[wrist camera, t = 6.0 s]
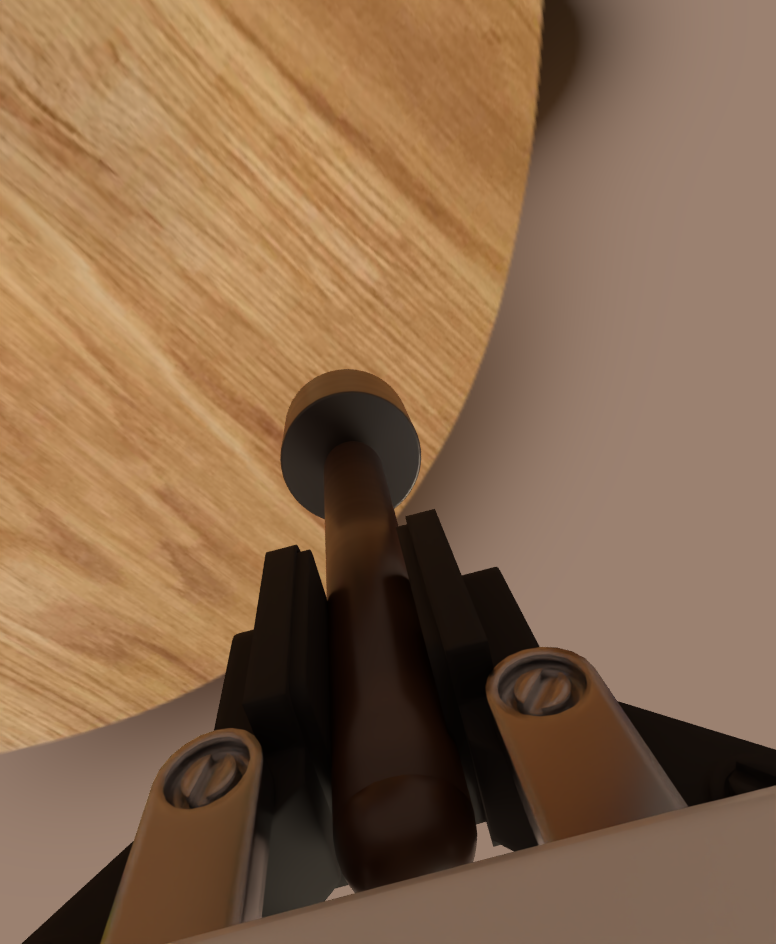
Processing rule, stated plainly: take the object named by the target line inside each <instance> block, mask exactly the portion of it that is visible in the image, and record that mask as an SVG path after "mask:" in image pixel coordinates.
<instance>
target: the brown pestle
mask: <svg viewBox="0 0 776 944" xmlns="http://www.w3.org/2000/svg"><path fill="white" fill-rule="evenodd" d="M280 460H281V469H282V474H283V477H284V480H285V483H286V485H287V487H288V489H289V490H290V492H291V494H292V495H293V496H294V498H295V499H296V500H297V501H298V502H299V503H300V504H301V505H302V506H303V507H304V508H306V509H307V510H308V511H310V512H311V513H313V514H315V515H316V516H319V517H321V518H323V519H325V546H326V586H327V605H328V643H329V681H330V718H331V756H332V768H331V783H332V822H333V842H334V849H335V854H336V858H337V862H338V864H339V867H340V870H341V872H342V874H343V876H344V878H345V880H346V881H347V883H348V884H349V886H350V887H351V888H352V890H353V891H354V892H355V893H358V892H362V891H366V890H370V889H373V888H377V887H381V886H385V885H389V884H393V883H396V882H400V881H404V880H408V879H412V878H415V877H419V876H423V875H427V874H431V873H435V872H438V871H442V870H446V869H450V868H454V867H457V866H461V865H465V864H469V863H473V860H474V857H475V851H476V843H477V829H476V821H475V814H474V809H473V805H472V802H471V798H470V794H469V790H468V787H467V783H466V779H465V775H464V772H463V768H462V764H461V760H460V756H459V753H458V750H457V747H456V744H455V743H454V741H453V739H452V738H451V737H450V735H449V734H448V730H447V726H446V722H445V718H444V715H443V711H442V707H441V703H440V699H439V695H438V691H437V688H436V684H435V680H434V676H433V672H432V668H431V664H430V660H429V657H428V653H427V649H426V645H425V641H424V637H423V633H422V629H421V625H420V621H419V617H418V613H417V609H416V605H415V601H414V597H413V593H412V589H411V585H410V581H409V577H408V573H407V570H406V566H405V562H404V558H403V554H402V550H401V546H400V542H399V538H398V534H397V530H396V527H398V523H397V519H396V516H395V512H394V508H396V507H397V506H398V505H399V504H400V503H401V502H402V501H403V500H404V499H405V498H406V497H407V495H408V494H409V493H410V491H411V490H412V488H413V486H414V484H415V482H416V480H417V477H418V474H419V470H420V464H421V448H420V442H419V439H418V435H417V433H416V431H415V428H414V426H413V424H412V422H411V420H410V418H409V416H408V414H407V411H406V409H405V407H404V405H403V403H402V401H401V399H400V398H399V396H398V394H397V393H396V392H395V391H394V390H393V388H392V387H391V386H389V385H388V384H387V383H386V382H385V381H383V380H382V379H380V378H379V377H377V376H375V375H373V374H370V373H367V372H364V371H359V370H351V369H343V370H335V371H330V372H327V373H324V374H322V375H320V376H318V377H316V378H314V379H313V380H311V381H310V382H308V383H307V384H306V385H305V386H304V387H303V388H302V389H301V390H300V391H299V392H298V393H297V395H296V396H295V398H294V399H293V401H292V403H291V405H290V407H289V410H288V413H287V416H286V422H285V428H284V434H283V441H282V447H281V459H280Z"/></svg>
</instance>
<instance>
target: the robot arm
mask: <svg viewBox="0 0 776 944" xmlns="http://www.w3.org/2000/svg"><path fill="white" fill-rule="evenodd" d="M406 522H407V524H406V525H402V526H399V527H396V530H397V534H398V538H399V542H400V546H401V550H402V554H403V558H404V562H405V566H406V570H407V573H408V577H409V581H410V585H411V589H412V593H413V597H414V601H415V605H416V609H417V613H418V617H419V621H420V625H421V629H422V633H423V637H424V641H425V645H426V649H427V653H428V657H429V660H430V664H431V668H432V672H433V676H434V680H435V684H436V688H437V691H438V695H439V699H440V703H441V707H442V711H443V715H444V718H445V722H446V726H447V730H448V734H449V735H450V737H451V738H452V739H453V741H454V743H455V744H456V747H457V750H458V753H459V756H460V760H461V764H462V768H463V772H464V775H465V779H466V783H467V787H468V790H469V794H470V798H471V802H472V805H473V809H474V814H475V821H476V824H479V823H483V822H487V826H488V829H489V833H490V836H491V840H492V843H493V846H498V845H503V846H504V847H507V848H509V849H511V850H512V851H514V852H511V853H507V854H504V855H500V856H496V857H492V858H488V859H484V860H480V861H477V862H473V863H469V864H465V865H461V866H457V867H454V868H450V869H446V870H442V871H438V872H435V873H431V874H427V875H423V876H419V877H415V878H412V879H408V880H404V881H400V882H396V883H393V884H389V885H385V886H381V887H377V888H373V889H370V890H366V891H362V892H358V893H355V894H351V895H347V896H343V897H339V898H336V899H332V900H328V901H325V900H326V899H327V897H328V896H329V895H330V894H331V893H332V891H333V890H334V889H335V888H338V887H342V886H346V885H349V884H348V883H347V881H346V880H345V878H344V876H343V874H342V872H341V870H340V867H339V864H338V862H337V858H336V854H335V849H334V842H333V822H332V783H331V768H332V756H331V718H330V681H329V643H328V605H327V598H326V595H325V592H324V589H323V585H322V582H321V579H320V576H319V573H318V570H317V566H316V563H315V560H314V557H313V554H312V552H311V550H306V551H302V552H300V549H299V547H298V546H297V545H293V546H289V547H286V548H282V549H278V550H274V551H270V552H266V555H265V561H264V568H263V574H262V581H261V587H260V593H259V600H258V606H257V613H256V619H255V625H254V630H250V631H246V632H242V633H239V634H236V635H235V636H234V638H233V640H232V644H231V649H230V654H229V659H228V664H227V669H226V674H225V679H224V684H223V689H222V694H221V699H220V704H219V709H218V713H217V719H216V723H215V729H214V731H213V732H209V733H206V734H203V735H201V736H199V737H197V738H195V739H194V740H192V741H190V742H188V743H187V744H185V745H184V746H182V747H181V748H180V749H179V750H178V751H176V752H175V753H174V754H173V755H171V756H170V758H169V759H168V760H167V761H166V762H165V764H164V765H163V766H162V767H161V769H160V770H159V772H158V774H157V776H156V778H155V780H154V782H153V784H152V787H151V790H150V793H149V796H148V799H147V802H146V805H145V808H144V811H143V814H142V817H141V820H140V824H139V827H138V830H137V833H136V836H135V839H134V841H133V842H132V843H131V844H130V845H129V846H128V847H126V848H125V849H124V850H123V851H122V852H121V853H120V854H119V855H118V856H117V857H116V858H114V859H113V860H112V861H111V862H110V863H109V864H108V865H107V866H106V867H105V868H103V869H102V870H101V871H100V872H99V873H98V874H97V875H96V876H95V877H94V878H93V879H92V880H90V881H89V882H88V883H87V884H86V885H85V886H84V887H83V888H82V889H81V890H79V891H78V892H77V893H76V894H75V895H74V896H73V897H72V898H71V899H70V900H69V901H67V902H66V903H65V904H64V905H63V906H62V907H61V908H60V909H59V910H58V911H57V912H56V913H54V914H53V915H52V916H51V917H50V918H49V919H48V920H47V921H46V922H45V923H44V924H42V926H40V927H39V928H38V929H37V930H36V931H35V932H34V933H33V934H31V935H30V936H29V937H28V938H27V939H26V940H25V941H24V942H23V943H22V944H776V750H775V749H771V748H768V747H765V746H762V745H759V744H755V743H752V742H749V741H746V740H742V739H739V738H736V737H732V736H729V735H726V734H723V733H719V732H716V731H713V730H709V729H706V728H703V727H700V726H696V725H693V724H690V723H687V722H684V721H680V720H677V719H673V718H670V717H667V716H664V715H661V714H657V713H654V712H651V711H648V710H644V709H641V708H638V707H635V706H631V705H628V704H625V703H622V702H618V701H617V700H616V699H615V697H614V696H613V694H612V693H611V691H610V690H609V688H608V687H607V685H606V684H605V682H604V681H603V679H602V678H601V676H600V675H599V674H598V672H597V671H596V669H595V668H594V667H593V666H592V665H591V664H590V663H589V662H588V661H587V660H586V659H585V658H584V657H582V656H579V655H578V654H576V653H574V652H572V651H568V650H564V649H560V648H552V647H539V645H538V643H537V641H536V639H535V637H534V635H533V633H532V632H531V629H530V627H529V626H528V624H527V622H526V620H525V618H524V616H523V614H522V612H521V610H520V608H519V606H518V604H517V602H516V601H515V599H514V597H513V595H512V593H511V591H510V589H509V587H508V585H507V583H506V581H505V579H504V577H503V575H502V574H501V572H500V570H499V568H497V567H493V568H489V569H485V570H482V571H477V572H474V573H470V574H466V575H461V573H460V570H459V568H458V565H457V563H456V560H455V558H454V555H453V553H452V550H451V548H450V545H449V543H448V540H447V538H446V536H445V533H444V531H443V528H442V526H441V523H440V521H439V518H438V516H437V513H436V511H435V509H432V510H429V511H425V512H421V513H417V514H413V515H409V516H406Z"/></svg>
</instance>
